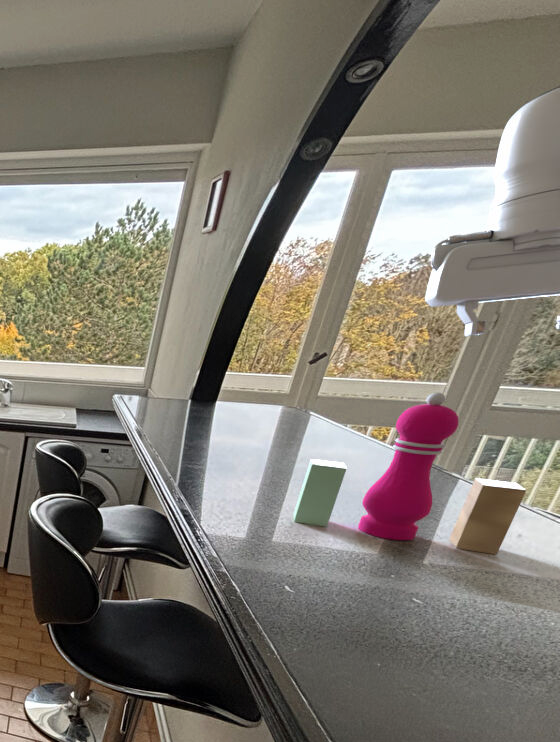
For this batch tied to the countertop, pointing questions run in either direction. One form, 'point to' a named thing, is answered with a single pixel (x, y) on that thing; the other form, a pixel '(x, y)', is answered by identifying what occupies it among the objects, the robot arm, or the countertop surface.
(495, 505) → the maple block
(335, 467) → the sage block
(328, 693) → the countertop surface
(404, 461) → the pepper mill
